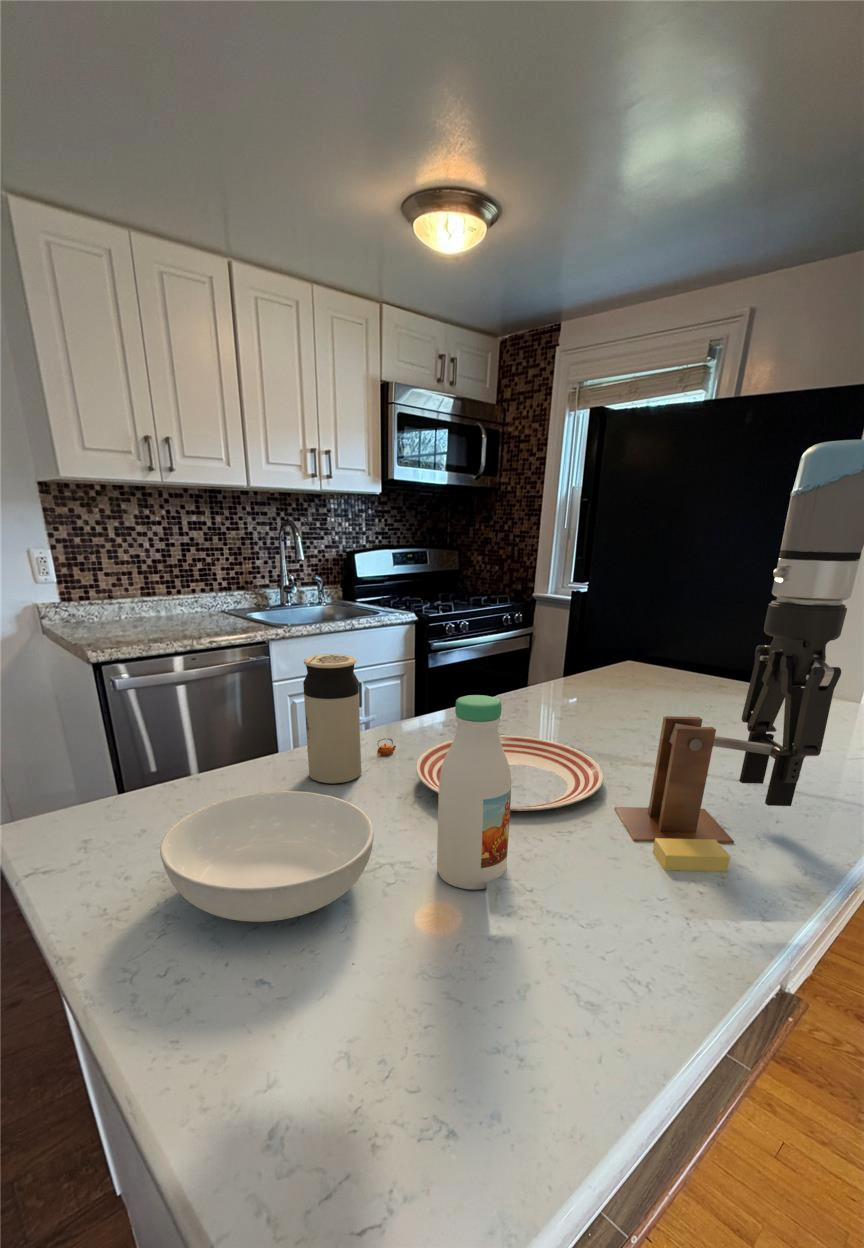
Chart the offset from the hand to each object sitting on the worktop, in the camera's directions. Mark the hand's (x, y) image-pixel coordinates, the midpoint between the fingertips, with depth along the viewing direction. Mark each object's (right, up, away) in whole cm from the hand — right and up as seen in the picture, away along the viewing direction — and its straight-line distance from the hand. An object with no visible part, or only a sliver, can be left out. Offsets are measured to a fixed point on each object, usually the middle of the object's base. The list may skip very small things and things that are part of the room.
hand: (764, 792), depth 75 cm
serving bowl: (-58, -10, -11) cm, 60 cm away
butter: (-12, -9, -6) cm, 16 cm away
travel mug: (-56, +2, +19) cm, 59 cm away
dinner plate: (-30, 0, +16) cm, 34 cm away
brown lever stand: (-11, -5, +2) cm, 12 cm away
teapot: (-49, +5, +28) cm, 57 cm away
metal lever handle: (-6, +5, -2) cm, 8 cm away
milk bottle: (-37, -9, -7) cm, 38 cm away
